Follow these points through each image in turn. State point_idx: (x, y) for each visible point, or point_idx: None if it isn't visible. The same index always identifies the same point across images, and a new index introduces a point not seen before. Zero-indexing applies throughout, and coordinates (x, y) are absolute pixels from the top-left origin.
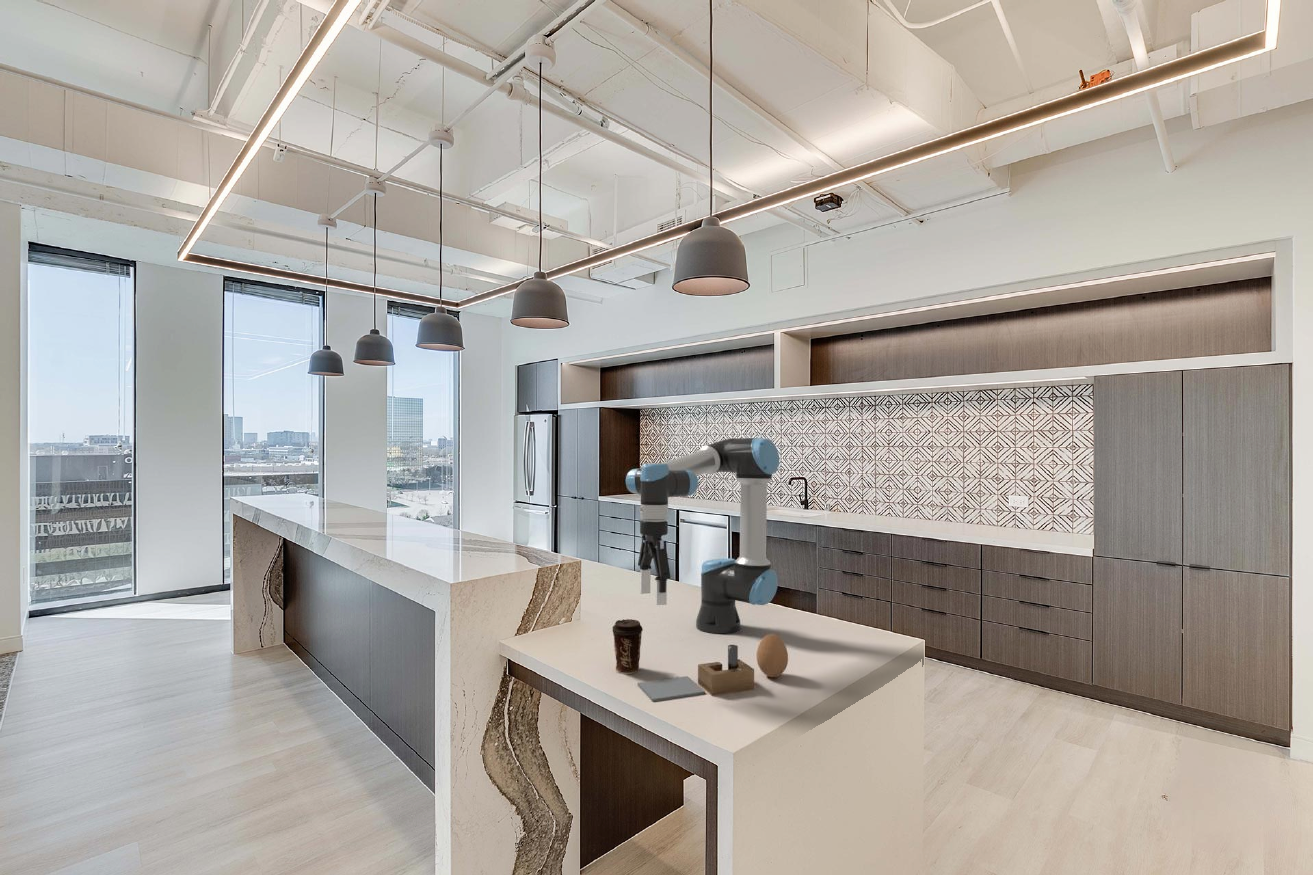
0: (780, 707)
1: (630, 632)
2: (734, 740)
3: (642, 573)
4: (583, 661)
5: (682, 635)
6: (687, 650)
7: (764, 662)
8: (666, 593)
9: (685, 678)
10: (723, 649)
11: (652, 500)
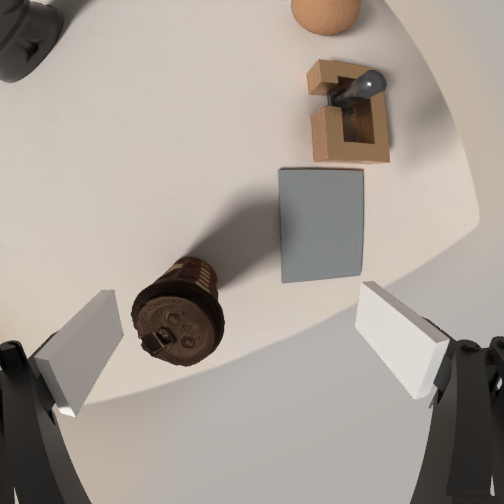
0: (424, 95)
1: (221, 326)
2: (471, 209)
3: (80, 396)
4: (131, 345)
5: (33, 112)
6: (110, 116)
7: (342, 30)
8: (401, 302)
9: (291, 179)
10: (134, 43)
11: None
